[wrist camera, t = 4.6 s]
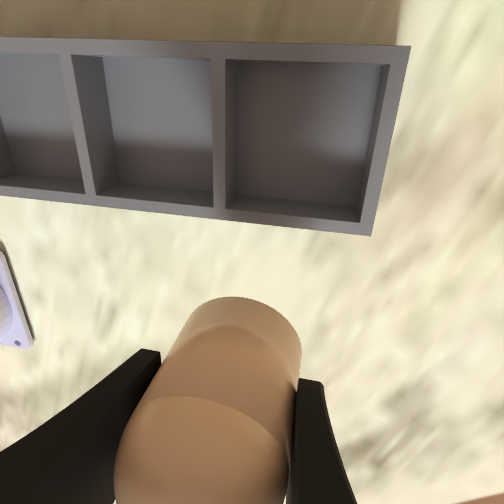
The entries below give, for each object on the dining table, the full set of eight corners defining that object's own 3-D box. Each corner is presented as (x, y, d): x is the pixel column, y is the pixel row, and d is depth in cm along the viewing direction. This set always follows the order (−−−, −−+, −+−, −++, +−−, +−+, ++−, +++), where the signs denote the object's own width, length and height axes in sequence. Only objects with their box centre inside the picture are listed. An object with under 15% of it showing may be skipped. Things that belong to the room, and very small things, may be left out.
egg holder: (25, 177, 19) (-24, 192, 16) (-12, 42, 16) (-78, 35, 13) (364, 210, 16) (370, 236, 13) (395, 52, 13) (411, 46, 10)
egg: (186, 379, 13) (91, 580, 8) (181, 287, 11) (50, 472, 6) (295, 400, 13) (269, 635, 7) (308, 307, 11) (288, 534, 5)
